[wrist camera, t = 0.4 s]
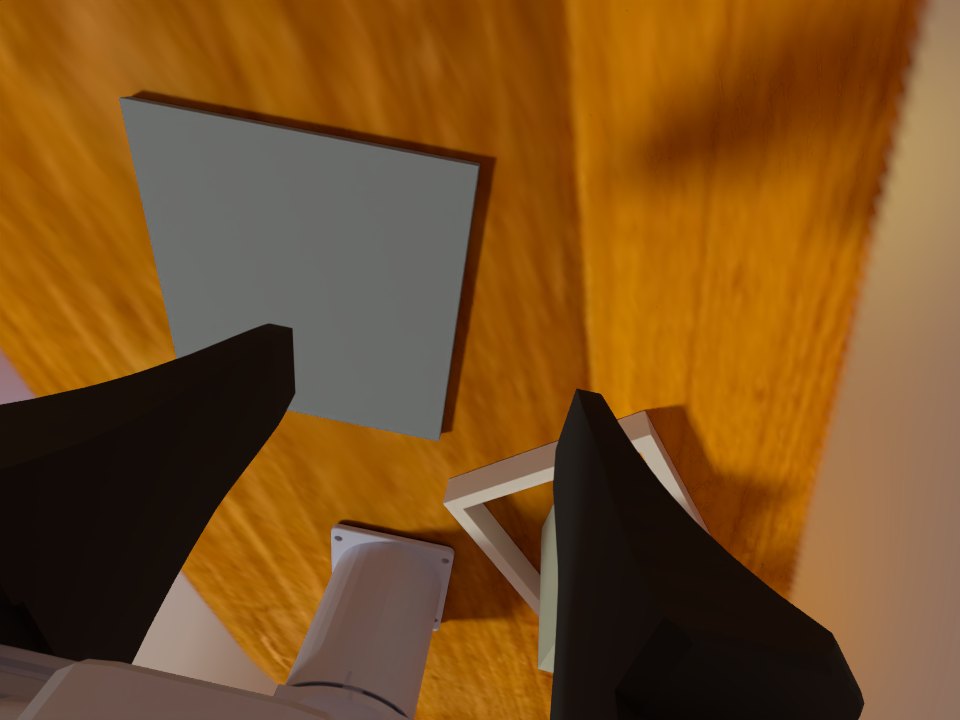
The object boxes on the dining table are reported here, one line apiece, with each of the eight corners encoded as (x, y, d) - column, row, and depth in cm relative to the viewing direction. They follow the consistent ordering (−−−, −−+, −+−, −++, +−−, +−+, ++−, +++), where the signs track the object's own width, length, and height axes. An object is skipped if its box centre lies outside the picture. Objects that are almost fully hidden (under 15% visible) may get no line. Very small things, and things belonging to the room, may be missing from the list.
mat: (441, 433, 26) (438, 441, 26) (190, 382, 27) (183, 388, 26) (480, 163, 19) (478, 166, 18) (130, 96, 19) (118, 97, 19)
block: (632, 502, 27) (657, 648, 21) (605, 545, 30) (620, 690, 23) (563, 483, 27) (566, 624, 21) (541, 528, 29) (537, 668, 23)
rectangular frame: (720, 553, 29) (729, 581, 27) (542, 593, 33) (541, 620, 31) (644, 410, 24) (650, 434, 22) (448, 479, 28) (442, 503, 27)
